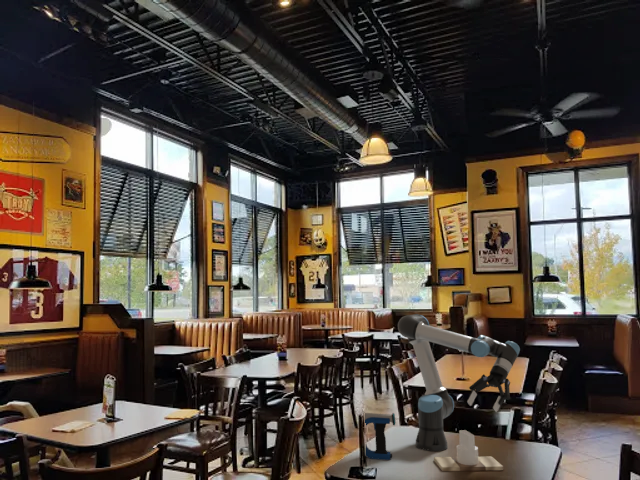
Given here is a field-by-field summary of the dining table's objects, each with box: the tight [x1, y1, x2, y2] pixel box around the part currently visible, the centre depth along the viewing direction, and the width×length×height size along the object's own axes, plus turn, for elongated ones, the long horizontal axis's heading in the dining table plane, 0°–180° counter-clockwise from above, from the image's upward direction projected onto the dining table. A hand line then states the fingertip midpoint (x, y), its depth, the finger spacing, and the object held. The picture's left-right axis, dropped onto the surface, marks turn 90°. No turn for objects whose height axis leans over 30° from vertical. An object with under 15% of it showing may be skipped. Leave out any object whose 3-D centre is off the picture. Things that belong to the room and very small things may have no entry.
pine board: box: [433, 455, 504, 472], centre depth 215 cm, size 26×13×2 cm, turn 92°
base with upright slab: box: [456, 429, 479, 465], centre depth 216 cm, size 9×9×12 cm
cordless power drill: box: [364, 412, 397, 461], centre depth 226 cm, size 5×16×20 cm, turn 78°
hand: (481, 406), depth 224 cm, fingers open, 13 cm apart
